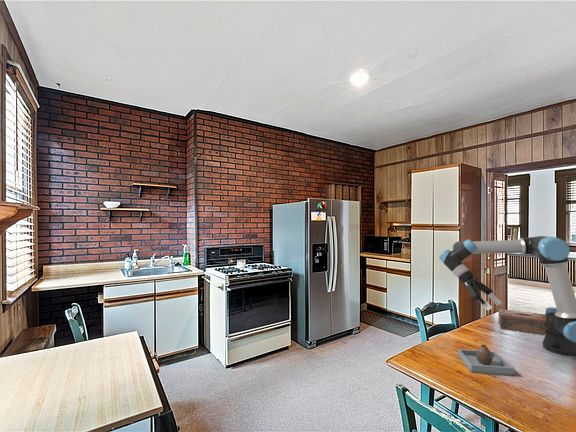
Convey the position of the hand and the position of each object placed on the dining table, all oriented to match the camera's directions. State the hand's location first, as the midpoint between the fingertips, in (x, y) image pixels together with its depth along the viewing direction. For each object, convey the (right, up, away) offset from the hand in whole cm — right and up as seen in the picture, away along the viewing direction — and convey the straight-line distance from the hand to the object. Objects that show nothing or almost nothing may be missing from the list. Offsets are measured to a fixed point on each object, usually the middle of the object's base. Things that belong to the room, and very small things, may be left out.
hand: (495, 306), depth 154 cm
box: (-10, -28, -6) cm, 30 cm away
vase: (-10, -27, -6) cm, 29 cm away
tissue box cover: (+48, -28, +42) cm, 70 cm away
